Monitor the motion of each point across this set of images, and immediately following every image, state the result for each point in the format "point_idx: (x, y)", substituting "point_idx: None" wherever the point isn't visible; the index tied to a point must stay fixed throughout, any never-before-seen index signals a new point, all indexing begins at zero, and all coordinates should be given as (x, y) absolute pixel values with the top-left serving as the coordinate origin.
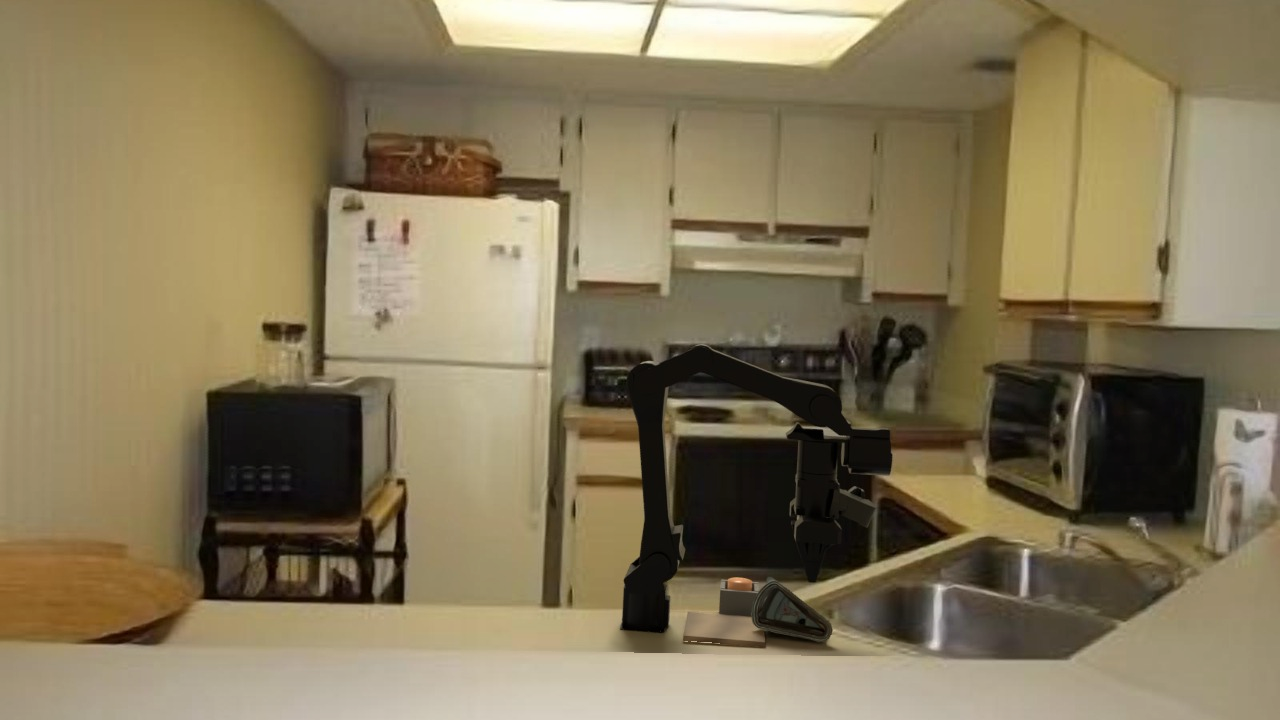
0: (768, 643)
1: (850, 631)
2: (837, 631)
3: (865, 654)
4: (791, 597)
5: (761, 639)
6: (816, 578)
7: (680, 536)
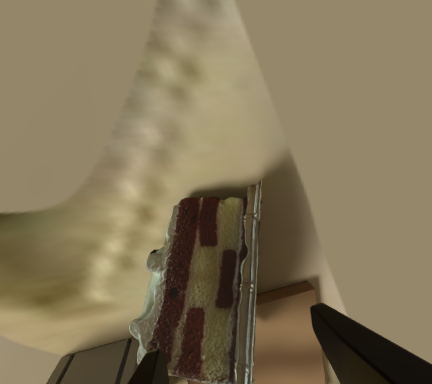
0: (275, 282)
1: (117, 147)
2: (134, 176)
3: (263, 98)
4: (238, 323)
5: (302, 298)
6: (340, 314)
7: None
